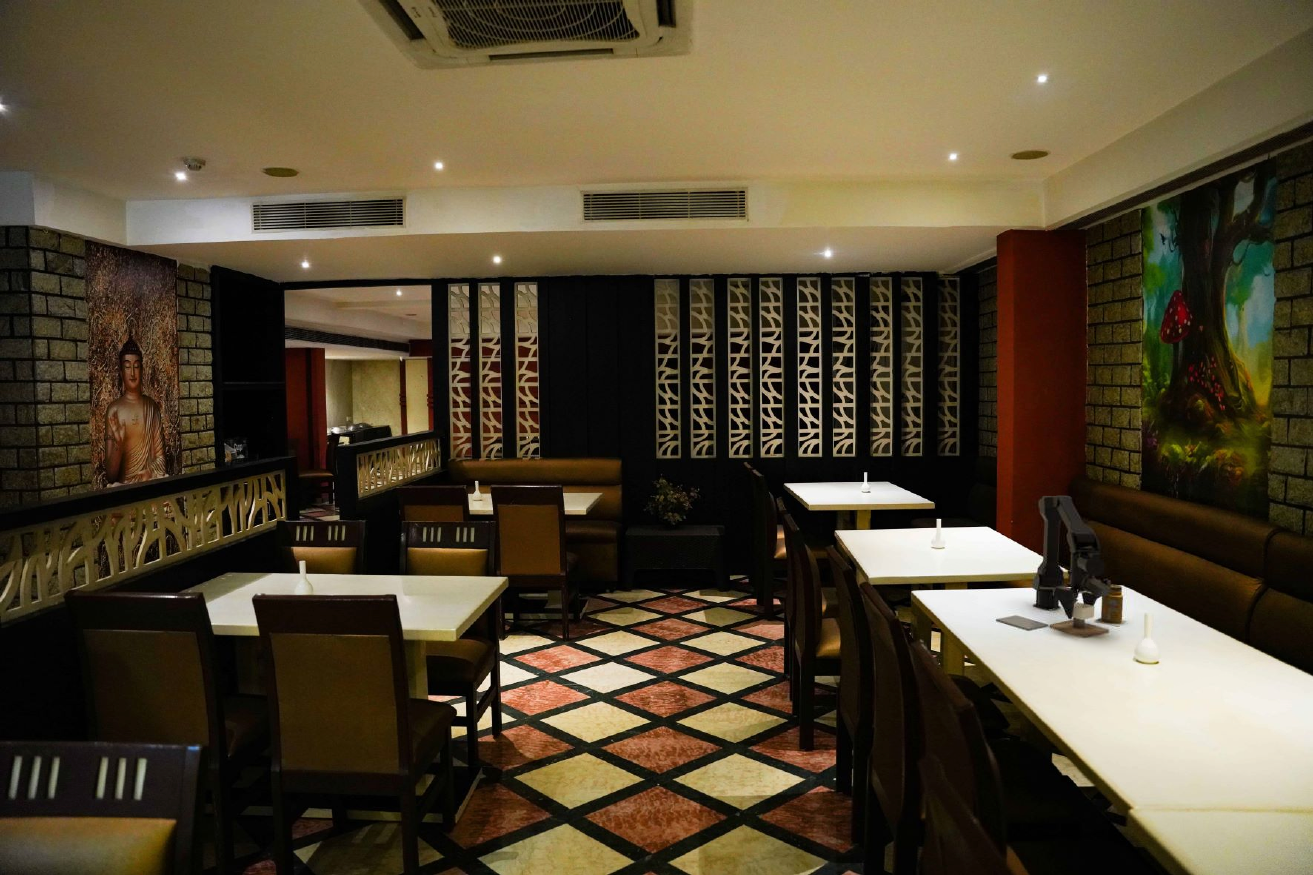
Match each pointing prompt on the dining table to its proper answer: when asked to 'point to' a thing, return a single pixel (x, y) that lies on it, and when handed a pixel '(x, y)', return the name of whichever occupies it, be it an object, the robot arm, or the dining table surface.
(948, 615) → the dining table surface
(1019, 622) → the pad
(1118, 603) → the condiment
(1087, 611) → the tan cardboard carton
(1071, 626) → the post base
